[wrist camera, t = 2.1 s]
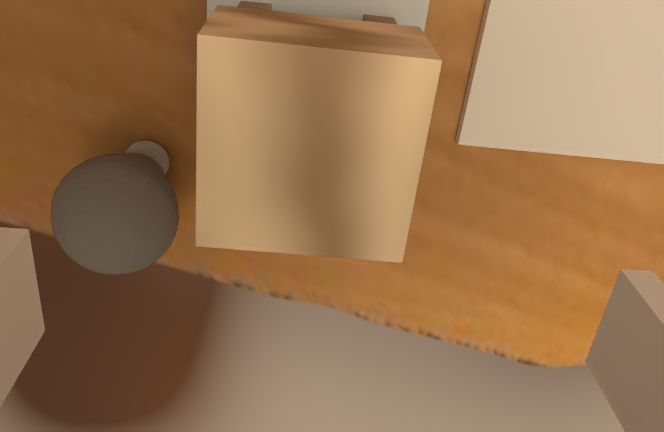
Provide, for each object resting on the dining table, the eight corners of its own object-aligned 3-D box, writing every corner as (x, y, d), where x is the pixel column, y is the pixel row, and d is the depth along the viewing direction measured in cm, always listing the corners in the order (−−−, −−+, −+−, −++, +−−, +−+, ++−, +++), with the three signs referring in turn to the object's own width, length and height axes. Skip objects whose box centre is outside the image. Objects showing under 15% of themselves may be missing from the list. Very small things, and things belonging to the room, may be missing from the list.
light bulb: (160, 219, 39) (117, 320, 30) (77, 160, 37) (4, 250, 28) (220, 154, 37) (192, 242, 28) (135, 88, 35) (76, 161, 26)
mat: (455, 139, 37) (458, 144, 36) (514, -129, 30) (519, -129, 30) (679, 160, 38) (686, 166, 37) (784, -93, 31) (795, -92, 31)
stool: (224, 152, 32) (195, 246, 24) (229, -13, 28) (197, 34, 20) (380, 166, 32) (402, 263, 24) (406, 7, 28) (442, 60, 21)
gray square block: (217, 132, 36) (204, 168, 32) (222, -52, 32) (207, -39, 27) (386, 148, 37) (396, 185, 33) (415, -29, 32) (432, -13, 28)
